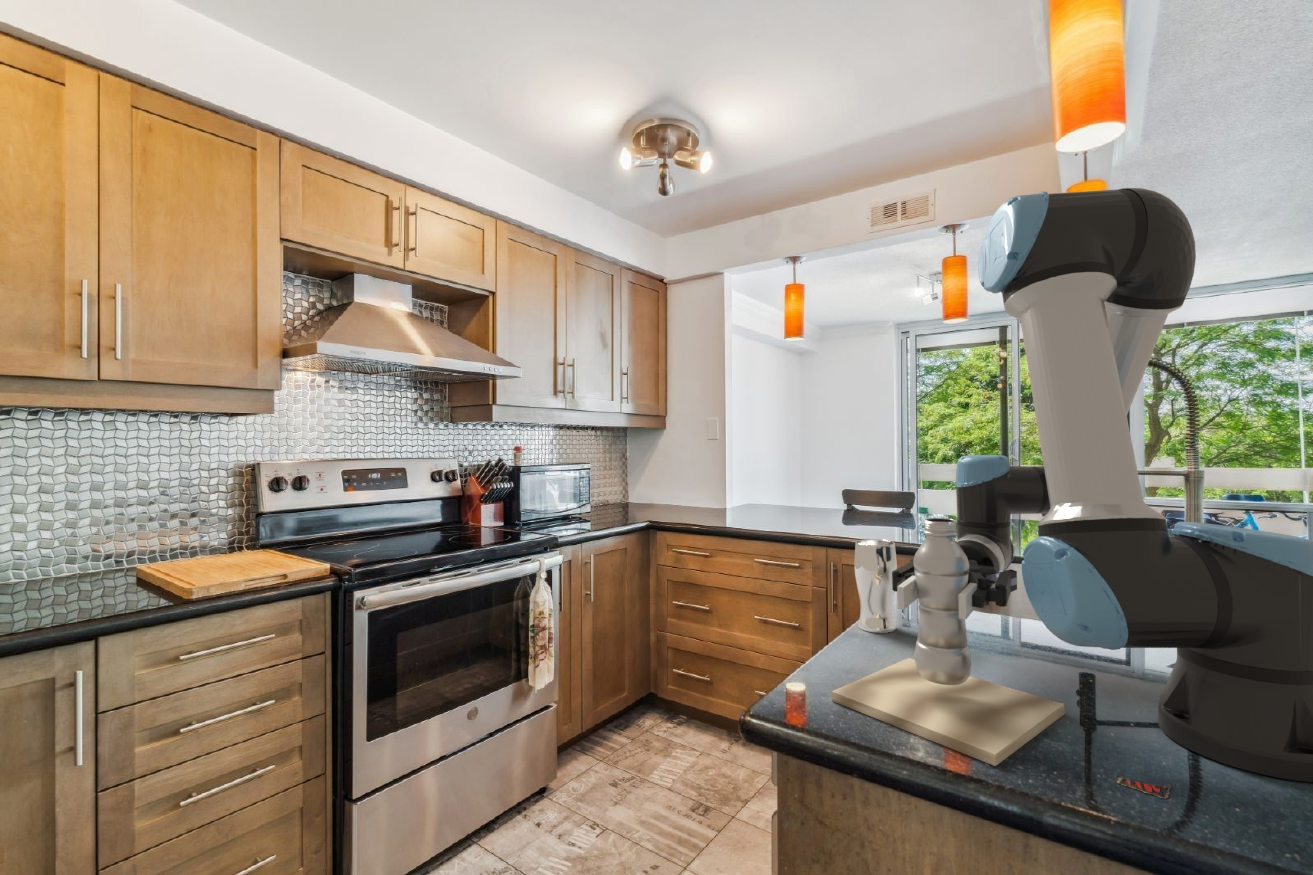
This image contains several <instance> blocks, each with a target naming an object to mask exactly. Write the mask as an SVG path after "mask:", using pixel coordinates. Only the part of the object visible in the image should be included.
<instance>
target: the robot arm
mask: <svg viewBox="0 0 1313 875" xmlns="http://www.w3.org/2000/svg"><path fill="white" fill-rule="evenodd" d="M983 235H984V236H983V239H982V242H981V246H980V251H979V257H978V279H979V283H980V284H981V286H982V288H983V289H984V290H985V291H986V292H989V293H992V294H998V293H1001V294H1002V300H1003V308H1004V311H1005V313H1006V314H1008V315H1009V316H1011V317H1013V318H1016V319H1017V320H1019V321H1020V326H1021V327H1020V328H1021V331H1022V339H1023V346H1024V350H1025V357H1026V362H1027V371H1028V376H1029V382H1030V389H1031V393H1032V394H1031V395H1032V401H1033V406H1034V407H1033V408H1034V414H1035V420H1036V426H1037V433H1038V438H1039V444H1040V450H1041V455H1042V456H1041V457H1042V458H1041V459H1042V462H1043V465H1037V466H1029V465H1028V466H1019V465H1018V466H1016V465H1013V466H1011V464H1010V459H1009V457H1008V456H1006V455H1001V454H1000V455H999V454H971V455H969V454H968V455H963V456H961V457H959V459H958V460H957V463H956V464H957V465H956V474H955V483H954V484H955V490H956V491H955V492H956V494H955V495H956V514H957V515H956V516H957V519H956V531H957V536H956V540H955V541H956V542H957V543H958V545H959V546H960V547H961V548H962V550H963V551H964V553H965V555H966V556H967V559H968V562H969V573H968V574H969V575H968V583H967V587H966V588H965V589H964V590H963V591H962V592H961V593H960V594H959V595H958V597H959V619H965V620H967V619H968V618H969V617H970V615H971V614H972V613H973V611H974V610H975V609H977V608H978V609H982V608H985V607H986V606H989V605H990V603H991V602H993V603H995V605H996V607H997V606H998V607H1000V608H1001V607H1003V608H1004V607H1007V606H1008V602H1009V599H1010V596H1011V593H1012V592H1014V591H1017V590H1018V571H1017V570H1015V569H1013V568H1012V569H1010V568H1009V567H1010V566H1011V563H1012V562H1013V561H1014V554H1015V546H1014V543H1013V540H1012V539H1011V517H1012V515H1022V514H1023V515H1031V514H1032V515H1035V514H1037V515H1038V514H1045V515H1044V516H1043V517H1042V518H1041V519H1040V521H1039V522H1037V528H1038V534H1039V536H1038V537H1036V538H1033V539H1032V540H1030V541H1029V542H1028V543H1027V544H1026V545H1025V547H1024V548H1023V551H1022V557H1023V560H1022V561H1021V575H1022V581H1023V586H1024V589H1025V592H1026V594H1027V598H1028V600H1029V602H1030V605H1031V606H1032V609H1033V611H1034V612H1035V614H1036V616H1037V617H1038V619H1039V620H1040V621H1041V622H1042V624H1043V625H1044V626H1045V627H1046V629H1047V630H1048V631H1049V632H1050V633H1051V634H1052V635H1054V636H1055V637H1057V639H1059V640H1060V641H1062V642H1064V643H1066V644H1069V645H1071V646H1076V647H1087V648H1101V649H1105V650H1111V651H1116V650H1121V649H1176V661H1175V663H1174V665H1173V668H1172V670H1171V673H1170V675H1169V677H1168V680H1167V682H1166V683H1165V686H1164V689H1163V691H1162V694H1161V696H1160V699H1159V701H1158V705H1157V712H1158V714H1157V715H1158V719H1157V720H1158V721H1157V722H1158V727H1159V728H1160V730H1161V731H1162V732H1163V733H1164V734H1165V735H1166V736H1168V738H1170V739H1171V740H1173V741H1174V742H1176V743H1177V744H1179V745H1181V746H1182V747H1184V748H1186V749H1188V750H1190V751H1192V752H1194V753H1197V754H1198V755H1200V756H1203V757H1205V758H1208V759H1211V760H1213V761H1217V762H1219V763H1222V764H1225V765H1228V766H1231V767H1233V768H1238V769H1240V770H1244V771H1247V772H1252V773H1255V774H1260V775H1264V776H1269V777H1273V778H1278V779H1285V780H1291V781H1297V782H1298V781H1299V782H1305V783H1306V782H1308V783H1313V541H1312V540H1311V539H1308V538H1304V537H1301V536H1300V537H1299V536H1296V535H1288V534H1285V533H1283V534H1282V533H1278V532H1271V531H1265V530H1258V529H1253V528H1251V529H1250V528H1244V527H1238V526H1237V527H1236V526H1229V525H1221V524H1213V523H1212V524H1211V523H1206V522H1205V523H1204V522H1194V521H1193V522H1192V521H1178V522H1176V523H1175V524H1174V528H1173V530H1171V534H1172V536H1170V535H1169V530H1168V527H1167V526H1168V524H1167V520H1166V518H1165V516H1164V514H1163V515H1162V514H1161V513H1160V512H1158V511H1156V510H1155V509H1153V508H1152V507H1150V506H1149V505H1148V504H1147V503H1145V501H1144V497H1143V492H1142V488H1141V482H1140V476H1139V472H1138V466H1137V461H1136V457H1135V452H1134V451H1135V450H1134V447H1133V440H1132V436H1131V431H1130V427H1129V420H1128V417H1127V416H1128V414H1129V412H1130V408H1131V407H1132V404H1133V401H1134V399H1135V397H1136V394H1137V391H1138V389H1139V386H1140V385H1141V382H1142V380H1143V377H1144V375H1145V373H1146V370H1147V367H1148V365H1149V362H1150V361H1151V360H1150V359H1151V357H1152V355H1153V352H1154V350H1155V347H1156V345H1157V342H1158V340H1159V338H1160V335H1161V332H1162V330H1163V329H1164V326H1165V323H1166V320H1167V318H1168V316H1169V314H1170V313H1173V312H1174V311H1177V310H1179V309H1181V308H1182V306H1183V305H1184V302H1185V300H1186V297H1187V295H1188V292H1189V290H1190V288H1191V285H1192V282H1193V278H1194V275H1195V268H1196V258H1197V257H1196V255H1197V254H1196V252H1197V250H1196V240H1195V236H1194V233H1193V229H1192V227H1191V224H1190V222H1189V219H1188V217H1187V216H1186V214H1185V212H1184V211H1183V210H1182V208H1180V207H1179V205H1178V204H1176V203H1175V202H1174V201H1173V200H1172V199H1171V198H1169V197H1167V196H1165V195H1164V194H1162V193H1160V192H1157V191H1155V190H1150V189H1147V188H1142V187H1141V188H1139V187H1124V188H1119V189H1105V190H1103V189H1102V190H1090V191H1087V190H1086V191H1075V192H1074V191H1073V192H1071V191H1070V192H1060V193H1059V192H1057V193H1049V192H1048V191H1040V192H1038V193H1032V194H1022V195H1016V196H1013V197H1010V198H1009V199H1007V200H1006V201H1004V202H1002V204H1001V205H1000V206H999V207H998V208H997V210H996V211H994V214H993V215H992V217H991V219H990V221H989V223H988V225H987V228H986V230H985V232H984V234H983ZM913 560H914V558H913V559H912V558H911V559H910V562H909V563H907V564H904V565H903V566H901V567H899V568H898V567H897V569H896V570H894V571H892V590H893V591H894V592H895V593H897V609H898V610H906V609H907V608H908V607H909V606H910V605H911V604H913V603H914V602H915V601H916V600H918V589H917V583H916V577H915V571H914V570H915V569H914V562H913ZM993 585H994V587H992V586H993Z"/></svg>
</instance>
